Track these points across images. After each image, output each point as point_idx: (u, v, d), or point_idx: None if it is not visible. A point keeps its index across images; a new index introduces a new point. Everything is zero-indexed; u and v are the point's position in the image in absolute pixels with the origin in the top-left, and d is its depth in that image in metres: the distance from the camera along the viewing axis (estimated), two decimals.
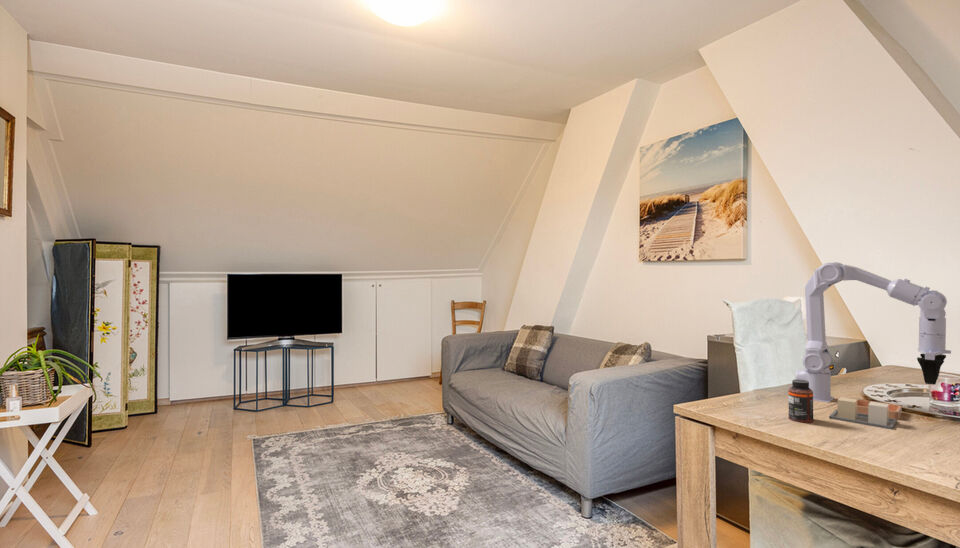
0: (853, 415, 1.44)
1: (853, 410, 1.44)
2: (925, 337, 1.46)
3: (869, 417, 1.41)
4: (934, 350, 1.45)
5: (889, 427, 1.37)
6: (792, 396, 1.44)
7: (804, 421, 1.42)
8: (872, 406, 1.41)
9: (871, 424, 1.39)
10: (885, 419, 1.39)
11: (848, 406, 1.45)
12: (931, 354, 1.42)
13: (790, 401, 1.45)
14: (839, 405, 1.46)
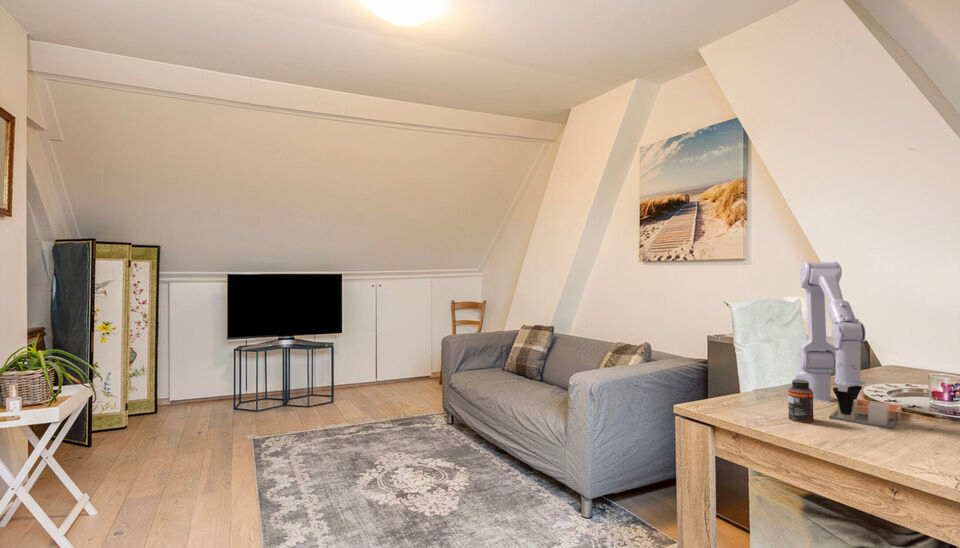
0: (853, 415, 1.44)
1: (853, 410, 1.44)
2: (840, 368, 1.45)
3: (869, 417, 1.41)
4: (848, 381, 1.44)
5: (889, 427, 1.37)
6: (792, 396, 1.44)
7: (804, 421, 1.42)
8: (872, 406, 1.41)
9: (871, 424, 1.39)
10: (885, 419, 1.39)
11: None
12: (844, 386, 1.41)
13: (790, 401, 1.45)
14: None
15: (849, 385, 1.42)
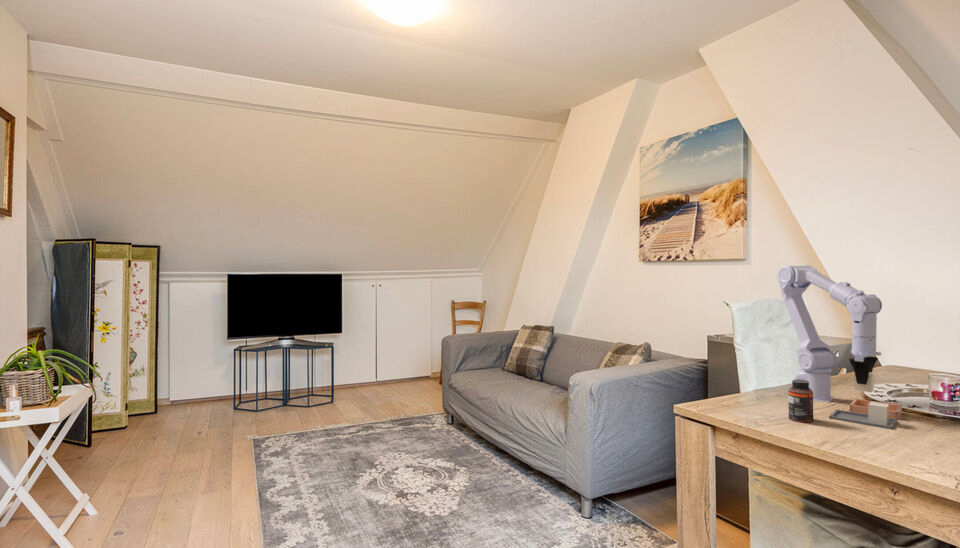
0: (870, 387, 1.49)
1: (870, 382, 1.49)
2: (856, 339, 1.51)
3: (869, 417, 1.41)
4: (864, 352, 1.49)
5: (889, 427, 1.37)
6: (792, 396, 1.44)
7: (804, 421, 1.42)
8: (872, 406, 1.41)
9: (871, 424, 1.39)
10: (885, 419, 1.39)
11: None
12: (860, 356, 1.46)
13: (790, 401, 1.45)
14: None
15: (865, 355, 1.47)
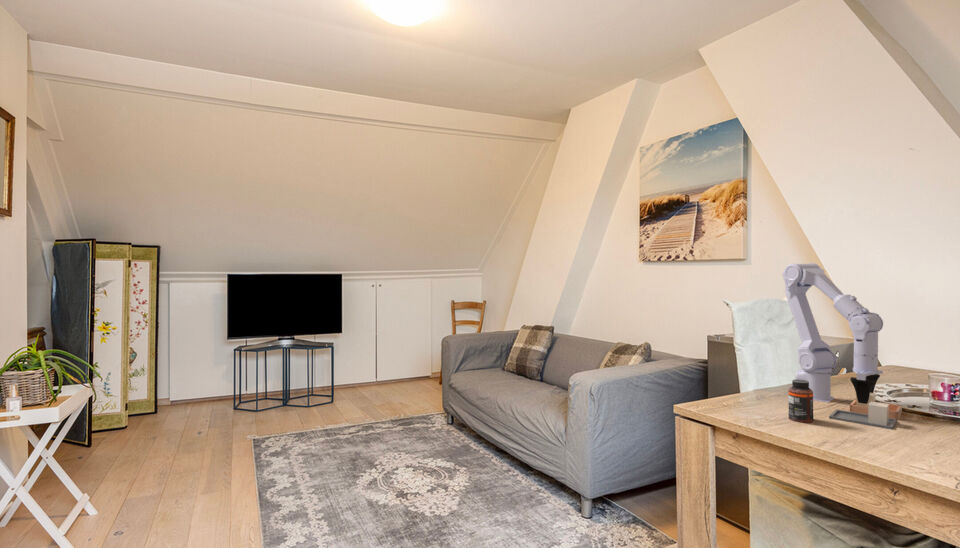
0: None
1: None
2: (858, 358, 1.51)
3: (869, 417, 1.41)
4: (866, 370, 1.50)
5: (889, 427, 1.37)
6: (792, 396, 1.44)
7: (804, 421, 1.42)
8: (872, 406, 1.41)
9: (871, 424, 1.39)
10: (885, 419, 1.39)
11: None
12: (862, 375, 1.47)
13: (790, 401, 1.45)
14: None
15: (867, 374, 1.48)
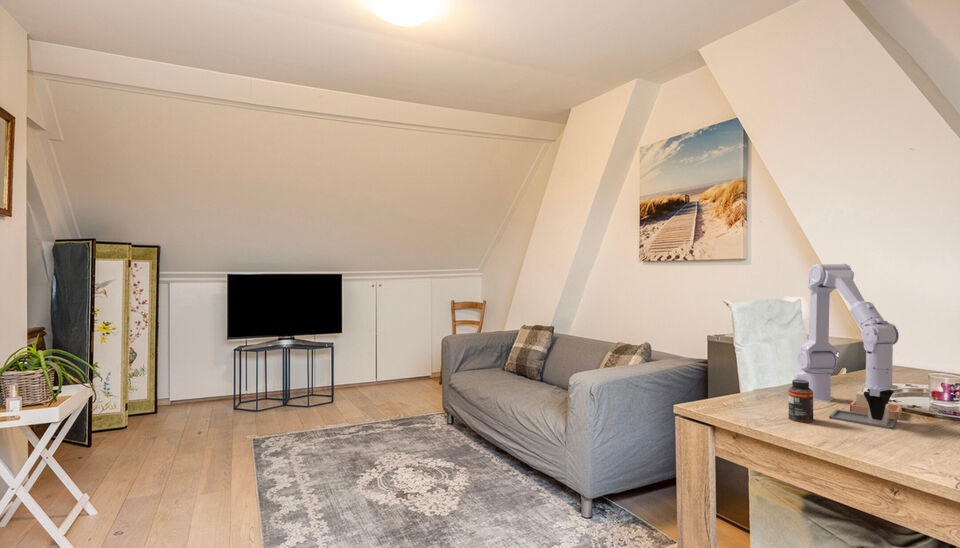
0: None
1: None
2: (871, 371, 1.40)
3: (869, 417, 1.41)
4: (880, 385, 1.39)
5: (889, 427, 1.37)
6: (792, 396, 1.44)
7: (804, 421, 1.42)
8: None
9: (871, 424, 1.39)
10: (885, 419, 1.39)
11: None
12: (876, 390, 1.36)
13: (790, 401, 1.45)
14: (858, 399, 1.52)
15: (881, 389, 1.37)
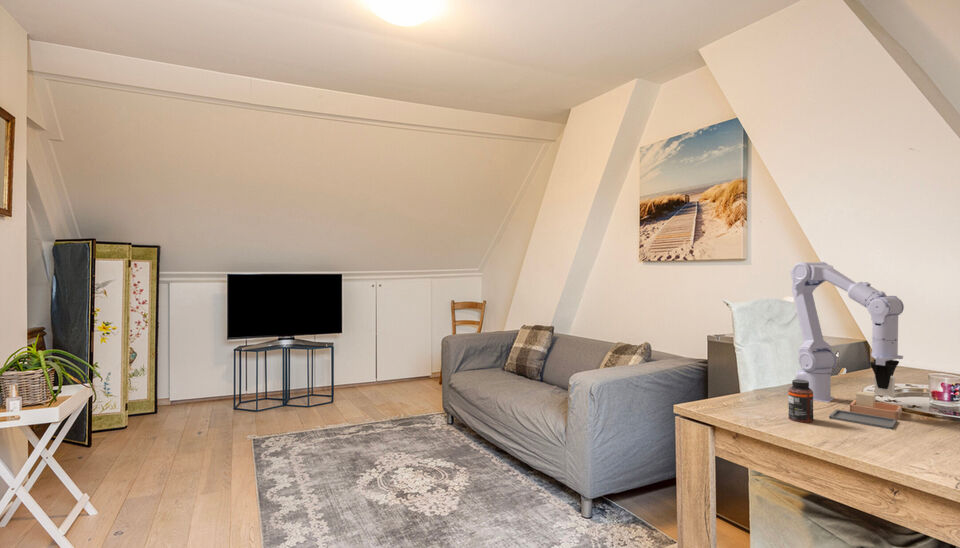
0: None
1: (871, 403, 1.50)
2: (877, 342, 1.46)
3: (875, 388, 1.47)
4: (886, 355, 1.44)
5: (889, 427, 1.37)
6: (792, 396, 1.44)
7: (804, 421, 1.42)
8: None
9: (871, 424, 1.39)
10: (891, 390, 1.44)
11: (867, 400, 1.51)
12: (881, 359, 1.41)
13: (790, 401, 1.45)
14: (858, 399, 1.52)
15: (887, 359, 1.42)
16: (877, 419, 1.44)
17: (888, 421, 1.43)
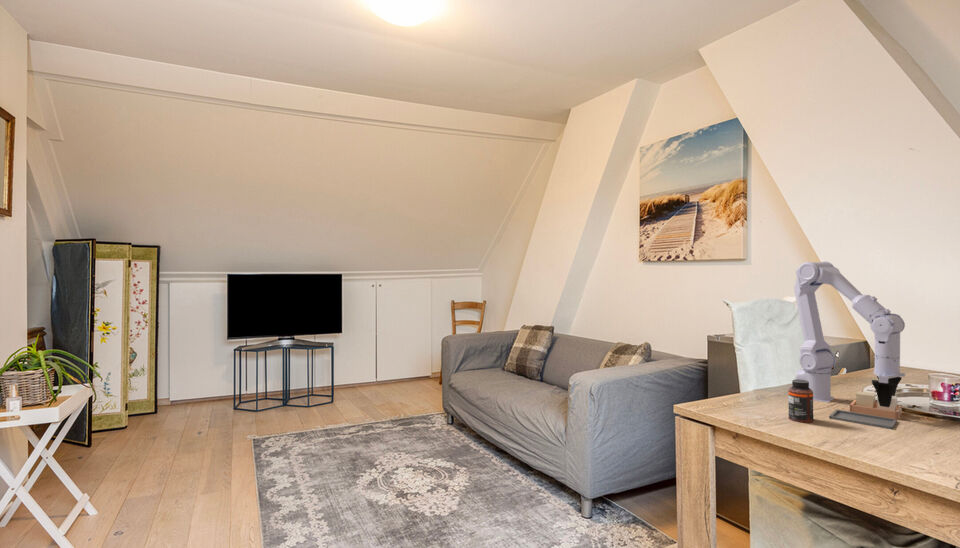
0: None
1: (871, 403, 1.50)
2: (880, 360, 1.48)
3: (878, 408, 1.49)
4: (888, 373, 1.46)
5: (889, 427, 1.37)
6: (792, 396, 1.44)
7: (804, 421, 1.42)
8: None
9: (871, 424, 1.39)
10: (893, 410, 1.46)
11: (867, 400, 1.51)
12: (884, 377, 1.44)
13: (790, 401, 1.45)
14: (858, 399, 1.52)
15: (890, 376, 1.44)
16: (877, 419, 1.44)
17: (888, 421, 1.43)
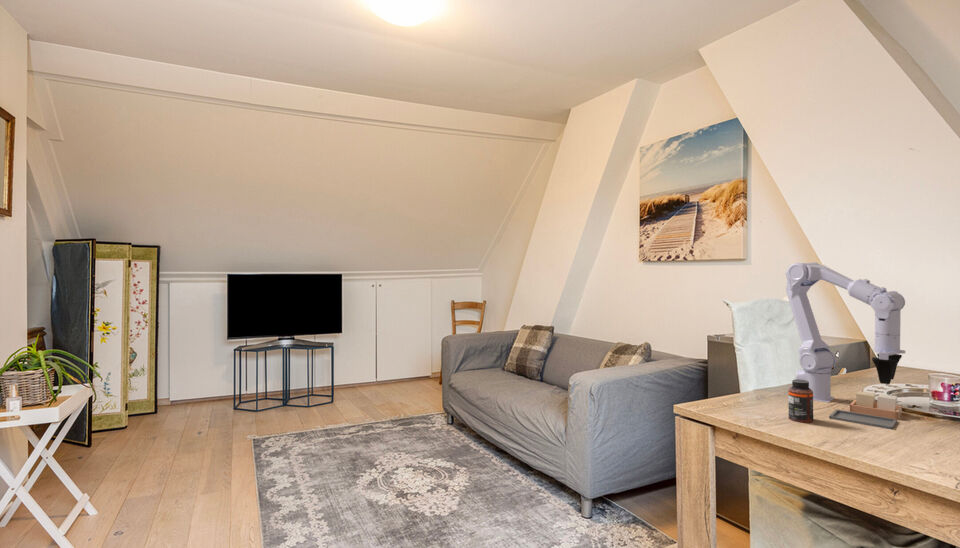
0: None
1: (871, 403, 1.50)
2: (880, 337, 1.48)
3: (878, 408, 1.49)
4: (888, 350, 1.46)
5: (889, 427, 1.37)
6: (792, 396, 1.44)
7: (804, 421, 1.42)
8: (881, 398, 1.48)
9: (871, 424, 1.39)
10: (893, 410, 1.46)
11: (867, 400, 1.51)
12: (885, 354, 1.43)
13: (790, 401, 1.45)
14: (858, 399, 1.52)
15: (890, 353, 1.44)
16: (877, 419, 1.44)
17: (888, 421, 1.43)
